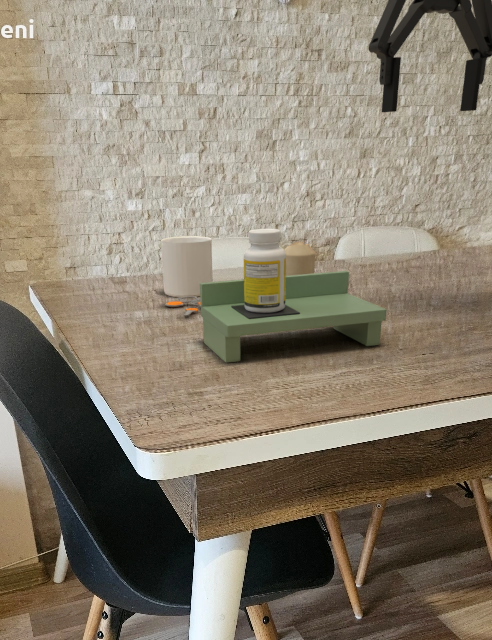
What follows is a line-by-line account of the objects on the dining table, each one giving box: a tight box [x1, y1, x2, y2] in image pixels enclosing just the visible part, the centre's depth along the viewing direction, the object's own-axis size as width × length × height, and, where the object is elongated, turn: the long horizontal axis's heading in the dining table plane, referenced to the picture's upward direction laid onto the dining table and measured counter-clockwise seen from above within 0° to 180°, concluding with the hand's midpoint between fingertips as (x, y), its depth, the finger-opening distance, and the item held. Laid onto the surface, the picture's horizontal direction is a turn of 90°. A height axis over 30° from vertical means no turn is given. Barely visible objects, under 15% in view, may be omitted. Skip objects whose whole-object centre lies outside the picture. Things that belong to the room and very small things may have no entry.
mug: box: [160, 235, 214, 298], centre depth 122 cm, size 12×9×9 cm
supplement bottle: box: [243, 228, 286, 313], centre depth 85 cm, size 5×5×10 cm
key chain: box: [164, 296, 201, 317], centre depth 111 cm, size 13×7×1 cm, turn 21°
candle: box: [283, 241, 316, 276], centre depth 110 cm, size 6×6×10 cm
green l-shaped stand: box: [199, 270, 388, 364], centre depth 90 cm, size 12×22×8 cm, turn 108°
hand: (429, 111), depth 97 cm, fingers open, 13 cm apart
